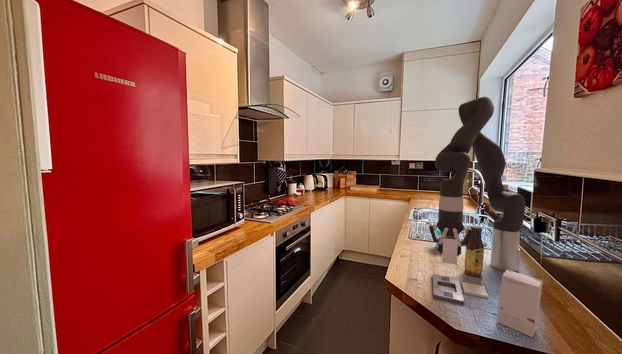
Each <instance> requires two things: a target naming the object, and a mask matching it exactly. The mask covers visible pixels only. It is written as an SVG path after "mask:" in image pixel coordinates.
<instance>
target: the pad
mask: <svg viewBox="0 0 622 354" xmlns="http://www.w3.org/2000/svg"><path fill="white" fill-rule="evenodd" d="M461 286H462V287H461V288H462V290H463V291H462V292H463V293H464V294H465V295H469V296H475V297H479V298H484V299H489V295H488V293H487V290H486V288H485V286H484V285H480V284H474V283H469V282H464V281H461Z"/></svg>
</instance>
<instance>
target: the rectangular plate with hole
mask: <svg viewBox="0 0 622 354" xmlns="http://www.w3.org/2000/svg"><path fill="white" fill-rule="evenodd" d="M431 275H432V277H431V278H432V291H433V299H437V300H442V301H446V302H450V303H454V304H455V303H456V304H460V305H465V299H464V296H463V291H462V287H461V282H460V279H459V278H457V277H452V276H446V275H440V274H436V273H432V274H431ZM439 285H444V286H448V287H454V289H455V291H453V290H448V289H443V288H439Z"/></svg>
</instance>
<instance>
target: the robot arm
mask: <svg viewBox="0 0 622 354" xmlns="http://www.w3.org/2000/svg"><path fill="white" fill-rule="evenodd" d="M493 102H494V101H493V100H492V99H491V97H488V96H480V97H477V98H475V99H472V100H469V101H466V102H463V103H461V104H460V105H459V107H458V116H459V119H460V121H461V124H462V126H461V127H459V128H458V129H457V130H456V131H455V133H454V134H453V136H452V138H451V140H450V141H449V143H448V144H447V145H446V146H445V147H444V148H442V149H441V150H440V152H439V153H437V155H436V157H435V160H434V166H435V169H436V170H437V171H439V172H442V173H454V174H455V175H454V176H453V177H449V178H444V179H442V180H440V183H439V198H438V221H437V223H436V224H432V223H431V224H429V225H428V227H429V231H430V234H431V238H432V242H434V243H438V248H437V251H438V253H440V255H442V249H443V244H442V242H443V238H445V236H452V237H455V239H458V248H457V257H459V255H460V256H461V255H462V247H463V246H465V247H466V245H468V242H469V240H470V237H471V235H472V233H473V231H472V229H471V228H470V227H466V226H464V224H463V221H464V219H463V217H464V199H463V198H464V197H463V196H464V192H463V191H464V183H465V179H466V176H467V173H468V171H469V169H470V165H471V157H470V155H469V153H470V151H471V149H472V150H473V153H474V156H475V159H476V162H477V165H478V167H479V169H480V172H481V175H482V178H483V182H484V185H485V189H486V194H487V198H488V202H489V205H490V207H491V209H493V210H494V211H496V212H499V213H503V214H502V218H501V219H496V220H493V222H492V234H491V235H492V236H491V247H490V248H491V251H490V266H491V267H493V268H494V269H497V270H500V271H504V272H505V271H506V270H510V271H513V272H516V273H519V272H520V265H521V255H522V254H521V253H522V252H521V251H522V250H521V249H520V240H521V239H520V238H521V237H520V236H521V227H522V226H523V224H524V218H525V211H526V201H525V197H524V196H523V195H521V194H520V193H516V192H512V191H511V192H510V191H506V190H505V187H504V185H503V181H502V180H503V179H502V178H503V174H504V173H505V172H504V171H505V170H506V164H507V163H506V158H505V155H504V152H503V149H502V147H501V146H500V145H499V144H498V143H497V142H496V141H494V140H493V139H492V138H490V137H488V136H487V135H485V134H484V133H483V132H482V130H483V129H484V128H485V126H486V125H487V123H488V122H489V121H490V119H492V117H493V115H494V113H495V105H494V103H493ZM438 229H439V230H440V231H441V233H440V236H438V237H437V236H436V235H437V234H436V233H435V232H436V231H437V230H438ZM462 232H464V237H463V239H462V240H461V239H460V236H459V235H460V234H461V233H462Z"/></svg>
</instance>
